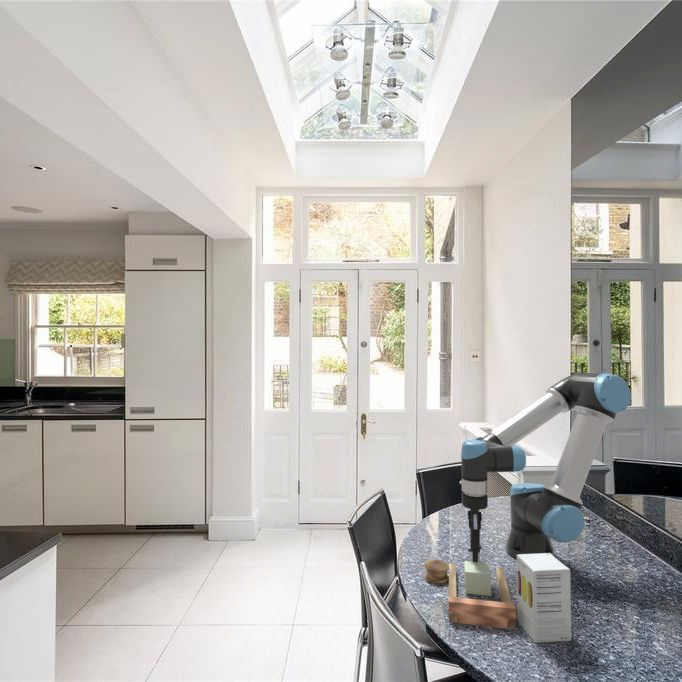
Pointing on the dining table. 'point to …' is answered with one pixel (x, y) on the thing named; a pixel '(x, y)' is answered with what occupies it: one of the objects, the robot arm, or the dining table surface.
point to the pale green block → (477, 578)
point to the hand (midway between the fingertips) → (475, 572)
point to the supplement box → (543, 597)
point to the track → (482, 605)
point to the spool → (436, 571)
